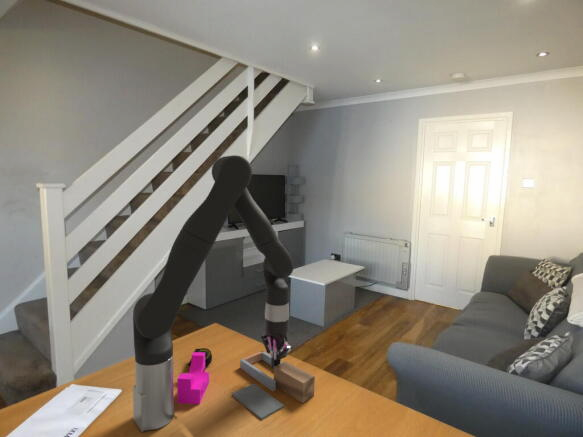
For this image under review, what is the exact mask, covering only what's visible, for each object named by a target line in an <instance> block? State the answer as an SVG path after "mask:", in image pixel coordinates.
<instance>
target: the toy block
mask: <svg viewBox="0 0 583 437" xmlns="http://www.w3.org/2000/svg"><path fill="white" fill-rule="evenodd" d="M190 360H191V366H189V371H188V373H180V374H179V376H178V377H177V380H176V381H177V388H176V389H177V404H187V405H189V404H190V405H200V404H201V402H202V400H203V397H204V396H205V393H206V390H207V389H208V386H209V384H210V372H208V371H206V367H205V353H202V352H194V351H193V352H192V355H191V357H190Z"/></svg>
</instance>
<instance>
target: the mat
mask: <svg viewBox="0 0 583 437" xmlns="http://www.w3.org/2000/svg"><path fill="white" fill-rule="evenodd" d="M231 396H232V397H233V398H235V399H236V400H237V401H238V402H239V403H240V404H242V405H243V406H244V407H245V408H246V409H248V410H249V411H250V412H251V413H252V414H253V415H255V416H256V417H257V418H258V419H260V420H261V421H263V420H264V419H266V418H268V417H269V416H271V415H273V414H274V413H276V412H279V411H280V410H282V409H283V408H285V405H284V404H283V403H282V402H281V401H279V400H277V398H275V397H273V396H272V395H271V394H269V392H266V390H264V389H262V387H260V386H259V385H258V384H256V383H251V384H249V385H248V386H245V387H243V388H241V389H238V390H237V391H234V392H232V393H231Z"/></svg>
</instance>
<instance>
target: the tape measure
mask: <svg viewBox="0 0 583 437" xmlns="http://www.w3.org/2000/svg"><path fill="white" fill-rule="evenodd" d="M193 352H202V353H205V368H207V367H208V366H209V365H211V363H212V360H213V354H212V351H211V350H210V349H209V348H205V347H203V348H202V347H201V348H195V349H194V351H193ZM187 366H188V367H190V366H191V359H190V360H189V363H188V364H187Z"/></svg>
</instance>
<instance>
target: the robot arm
mask: <svg viewBox="0 0 583 437" xmlns="http://www.w3.org/2000/svg"><path fill="white" fill-rule="evenodd" d="M252 175H253V169H252V165H251V163H250V161H249V160H248V159H247V158H245V157H243V155H242V156H241V155H227V156H226V155H225V156H221V157H220V158H217V159H216V160H215V161H214V163H213V164H212V167H211V176H212V177H211V178H212V180H213V181H214V183H213V185H212V187H211V189H210V191H209V192H208V195H207V196H206V197H205V199H204V200H203V202H201V204H200V205H199V206H198V207H197V208H196V209H195V210H194V212H193V213H192V214H191V215H190V216H189V217H188V219H187V220H186V221H185V223H184V224H183V226H181V229H180V230H179V233H178V234H177V236H176V238H175V239H174V242H173V244H172V245H171V248H170V251H169V254H168V257H167V261H166V263H165V266H164V267H165V268H164V271H163V274H162V276H161V278H160V281H159V282H158V284H157V286H156V288H155V289H154V291H153V292H152V293H151V292H150V293H147V294H145V295H143V296H141V297H140V298H139V299H138V300H137V301H136V303H135V305H134V308H133V310H132V323H133V324H132V326H133V348H134V349H133V350H134V368H135V369H134V373H135V374H134V375H135V378H134V379H135V385H133V386H132V399H133V400H132V402H133V403H132V406H133V421H134V422H135V424H136V426H137V427H138V429H139V430H140V432H142V433H143V432H145V431H151V430H159V429H160V428H163V427H165V426H167V424H169V423H170V422H172V420H173V418H174V414H175V412H174V411H175V406H174V343H173V337H172V330H171V329H172V327H173V326H174V324H175V321H176V319H177V316H178V314H179V311H180V309H181V306H182V305H183V302H184V301H185V297H186V295H187V292H188V291H189V288H190V286H191V285H192V284H193V282H194V280H195V278H196V276H197V275H198V273H199V271H200V269H201V267H202V266H203V264H204V262H205V261H206V259H207V257H208V256H209V253H210V252H211V250H212V248H213V246H214V244H215V242H216V240H217V238H218V236H219V235H220V232H221V230H222V229H223V227H224V225H225V223H226V221H227V219H228V217H229V214H230V213H231V212H232V210H233V208H234V211H236V213H237V215H238V216H239V218H240V220H241V221H242V223H243V225H244V227H245V229H246V230H247V234H248V235H249V236H250V238H251V240H252V242H253V244H254V245H255V248H256V249H257V250H258V252H259V253H261V254H262V255H263V257H264V260H263V262H262V267H263V268H262V269H263V277H264V283H265V286H266V287H265V288H266V294H265V295H266V296H265V298H266V299H265V300H266V301H265V306H264V308H265V309H264V331H265V333H264V334H262V335H260V338H261V340H262V343H263V345H264V348H265V352H266V353H267V354H269V355H270V356H271V365H270V366H271V369H273V370H274V367H275V366H277V365H279V364H280V361H281V360H282V359H285V358H286V357H287V356H288V355H289V353H290V352H292V350H293V348H294V346H293V345H290V344H289V343H288V336H287V334H288V332H289V330H290V305H289V304H290V303H289V300H290V289H289V286H288V284H287V283H286V281H285V279H286V278H288V277H290V276H291V275H292V274H293V271H294V259H292V257H291V256H292V255H291V254H290V253H289V251H288V250H287V249H286V247H285V246H284V244H282V243H281V241H280V240H279V238H278V235H277V234H276V232H275V229H274V228H273V226H272V223H271V222H270V220H269V219H268V216H267V215H266V214H265V212H263V210H262V209H261V208H260V206H259V205H258V204H257V202H256V201H255V200H254V198H253V197H252V194H251V192H250V190H248V188H247V187H248V185H250V181H252V180H251V179H252ZM281 362H282V361H281Z"/></svg>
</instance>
